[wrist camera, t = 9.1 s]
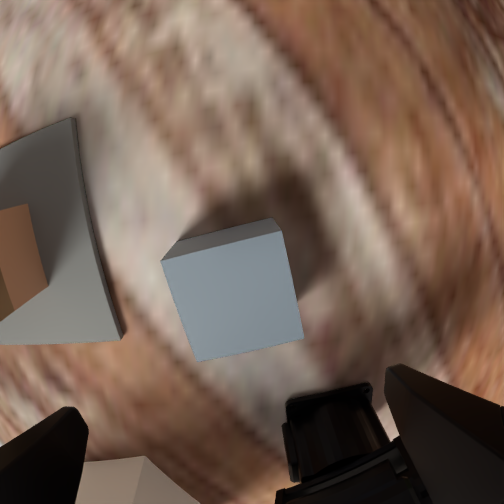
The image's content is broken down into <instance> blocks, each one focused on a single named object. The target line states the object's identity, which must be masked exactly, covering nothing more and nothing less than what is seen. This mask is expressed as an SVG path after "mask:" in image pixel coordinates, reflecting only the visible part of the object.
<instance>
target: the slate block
mask: <svg viewBox="0 0 504 504" xmlns="http://www.w3.org/2000/svg"><path fill="white" fill-rule="evenodd" d="M161 264H162V267H163V270H164V274H165V277H166V279H167V282H168V285H169V288H170V291H171V294H172V297H173V300H174V303H175V305H176V308H177V311H178V314H179V316H180V319H181V322H182V324H183V327H184V330H185V332H186V335H187V338H188V340H189V343H190V345H191V348H192V350H193V353H194V356H195V358H196V360H197V362H200V361H206V360H211V359H216V358H221V357H226V356H231V355H236V354H241V353H245V352H250V351H254V350H259V349H263V348H268V347H272V346H276V345H280V344H284V343H288V342H292V341H296V340H300V339H304V334H303V329H302V324H301V319H300V314H299V309H298V304H297V299H296V295H295V290H294V285H293V280H292V276H291V271H290V266H289V262H288V257H287V253H286V248H285V244H284V239H283V235H282V231H281V229H280V228H279V226H278V225H277V223H276V222H275V221H274V219H273V218H267V219H263V220H259V221H255V222H251V223H247V224H243V225H239V226H235V227H231V228H227V229H223V230H219V231H215V232H211V233H208V234H204V235H200V236H196V237H192V238H188V239H185V240H181V241H177V242H176V243H175V244H174V245H173V246H172V248H171V249H170V250H169V251H168V252H167V254H166V255H165V256H164V257H163V259H162V260H161Z"/></svg>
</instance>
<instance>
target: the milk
mask: <svg viewBox="0 0 504 504" xmlns="http://www.w3.org/2000/svg"><path fill="white" fill-rule="evenodd" d="M75 504H201V503H199V502H198V501H197V500H195V499H194V498H193V497H192V496H190V495H189V494H188V493H187V492H185V491H184V490H183V489H182V488H181V487H179V486H178V485H177V484H176V483H175V482H173V481H172V480H171V479H170V478H169V477H168V476H167V475H165V474H164V473H163V472H162V471H161V470H160V469H159V468H158V467H157V466H155V465H154V464H153V463H152V462H151V461H150V460H149V459H148V458H147V457H146V456H138V457H131V458H123V459H115V460H105V461H93V462H84V466H83V472H82V476H81V481H80V485H79V489H78V493H77V498H76V502H75Z"/></svg>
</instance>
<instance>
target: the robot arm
mask: <svg viewBox="0 0 504 504" xmlns="http://www.w3.org/2000/svg"><path fill="white" fill-rule="evenodd" d="M366 388H367V389H366ZM365 389H366V390H365ZM372 392H373V388H372V386H371V384H370V383H362V384H359V385H355V386H351V387H347V388H342V389H338V390H334V391H329V392H325V393H320V394H315V395H310V396H305V397H300V398H294V399H290V400H288V401H287V402H286V403H285V408H286V415H287V423H284V424H283V425H282V431H283V438H284V445H285V451H286V457H287V463H288V469H289V475H290V481H292V482H293V483H295V482H300V484H298V485H296V486H293V487H290V488H287V489H285V488H283V489H280V490H277V491H276V498H275V504H504V406H501V407H500V405H498V404H496V403H493V402H491V401H488V400H486V399H483V398H481V397H478V396H476V395H473V394H471V393H469V392H466V391H464V390H461V389H459V388H457V387H454V386H452V385H449V384H447V383H445V382H442V381H440V380H438V379H435V378H433V377H431V376H428V375H426V374H424V373H421V372H419V371H417V370H415V369H412V368H410V367H408V366H405V365H403V364H396V365H393V366H390V367H388V368H387V369H386V373H385V386H384V393H385V398H386V400H387V403H388V406H389V408H390V411H391V413H392V416H393V419H394V421H395V424H396V427H397V430H398V432H399V436H398V437H396V438H394V439H393V441H392V442H390V440H389V438H388V436H387V434H386V432H385V430H384V428H383V426H382V424H381V422H380V420H379V418H378V416H377V414H376V412H375V410H374V408H373V407H372V405H371V402H372ZM291 405H294V406H291ZM88 434H89V429H88V426H87V424H86V422H85V421H84V419H83V418H82V416H81V414H80V413H79V411H78V410H77V409H76V408H75V407H67V406H65V407H62V408H61V409H59V410H58V411H56V412H55V413H53V414H52V415H50V416H48V417H47V418H45V419H44V420H42V421H41V422H39V423H38V424H36V425H35V426H33V427H31V428H30V429H28V430H27V431H25V432H24V433H22V434H20V435H19V436H17V437H16V438H14V439H13V440H11V441H9V442H8V443H6V444H5V445H3V446H1V447H0V504H75V502H76V498H77V493H78V489H79V485H80V481H81V476H82V472H83V466H84V459H85V452H86V446H87V440H88Z"/></svg>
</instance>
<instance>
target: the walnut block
mask: <svg viewBox="0 0 504 504" xmlns="http://www.w3.org/2000/svg"><path fill="white" fill-rule="evenodd" d="M14 311H15V310H14V308H13V305H12V302H11V300H10V297H9V294H8V291H7V288H6V285H5V282H4V279H3V275H2V272H1V269H0V322H1V321H2V320H4V319H5V318H6V317H7V316H9V315H10V314H11V313H13V312H14Z"/></svg>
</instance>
